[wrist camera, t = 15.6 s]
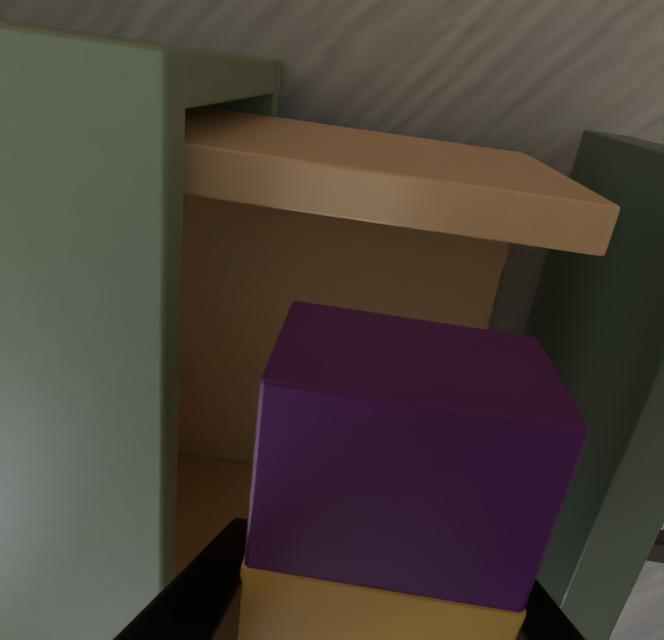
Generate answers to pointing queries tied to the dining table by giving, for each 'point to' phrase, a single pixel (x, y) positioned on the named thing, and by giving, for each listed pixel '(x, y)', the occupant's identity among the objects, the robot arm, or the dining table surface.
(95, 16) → the dining table surface
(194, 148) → the drawer
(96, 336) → the cabinet
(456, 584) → the chocolate bar
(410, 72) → the dining table surface
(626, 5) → the dining table surface
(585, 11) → the dining table surface
